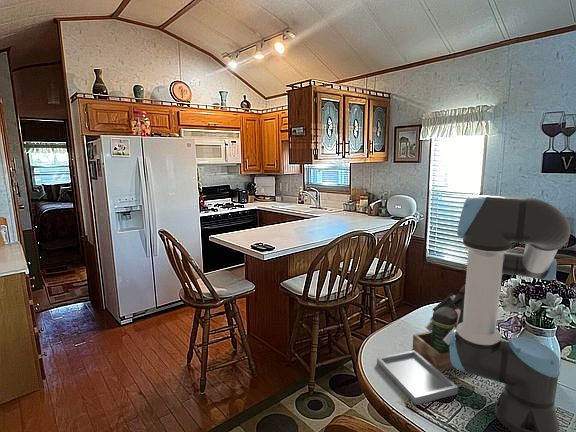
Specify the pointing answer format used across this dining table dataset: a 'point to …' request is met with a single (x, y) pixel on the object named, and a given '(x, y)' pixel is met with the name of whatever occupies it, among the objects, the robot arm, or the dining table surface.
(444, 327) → the coffee jar
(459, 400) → the dining table surface
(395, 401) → the dining table surface
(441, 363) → the walnut tub
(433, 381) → the grey flat rectangular tray
